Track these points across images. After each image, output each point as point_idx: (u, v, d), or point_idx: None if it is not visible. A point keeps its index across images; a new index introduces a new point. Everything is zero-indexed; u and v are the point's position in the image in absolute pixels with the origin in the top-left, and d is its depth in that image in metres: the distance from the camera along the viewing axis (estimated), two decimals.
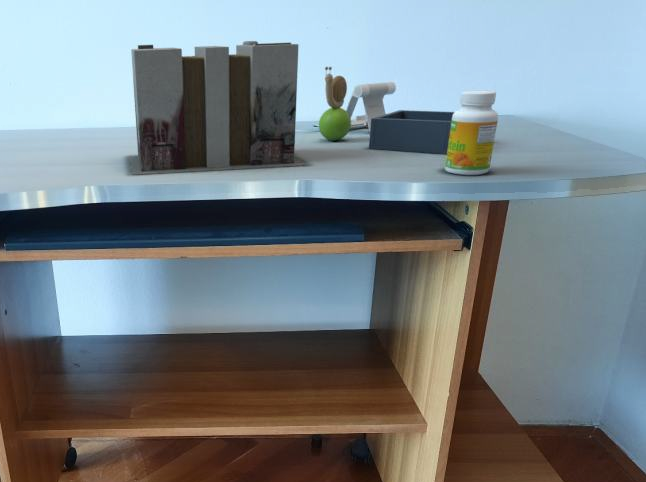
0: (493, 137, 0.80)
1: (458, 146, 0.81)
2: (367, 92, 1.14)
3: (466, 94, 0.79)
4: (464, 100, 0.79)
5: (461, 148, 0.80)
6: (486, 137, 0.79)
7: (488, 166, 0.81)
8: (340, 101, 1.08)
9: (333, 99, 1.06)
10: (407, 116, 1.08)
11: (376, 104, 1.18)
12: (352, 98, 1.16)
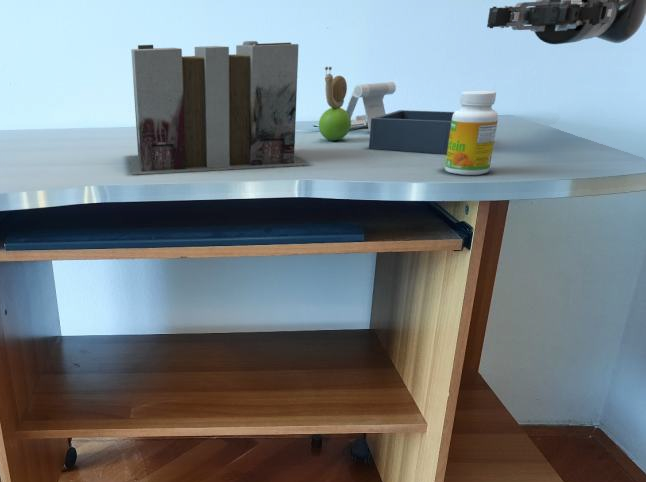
0: (493, 137, 0.80)
1: (458, 146, 0.81)
2: (367, 92, 1.14)
3: (466, 94, 0.79)
4: (464, 100, 0.79)
5: (461, 148, 0.80)
6: (486, 137, 0.79)
7: (488, 166, 0.81)
8: (340, 101, 1.08)
9: (333, 99, 1.06)
10: (407, 116, 1.08)
11: (376, 104, 1.18)
12: (352, 98, 1.16)
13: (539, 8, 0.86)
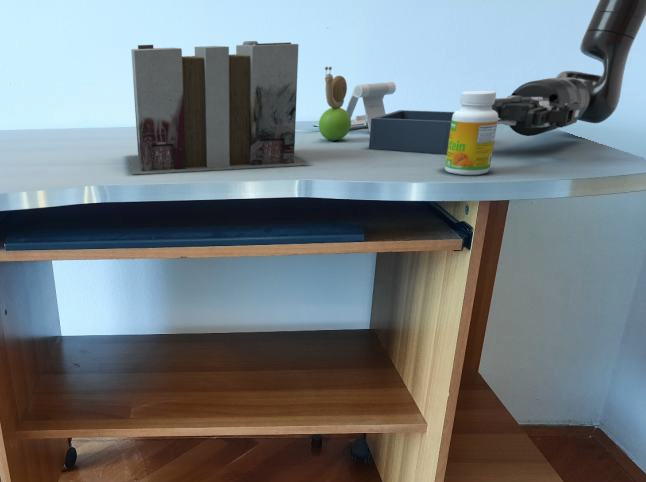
0: (493, 137, 0.80)
1: (458, 146, 0.81)
2: (367, 92, 1.14)
3: (466, 94, 0.79)
4: (464, 100, 0.79)
5: (461, 148, 0.80)
6: (486, 137, 0.79)
7: (488, 166, 0.81)
8: (340, 101, 1.08)
9: (333, 99, 1.06)
10: (407, 116, 1.08)
11: (376, 104, 1.18)
12: (352, 98, 1.16)
13: (509, 106, 0.89)
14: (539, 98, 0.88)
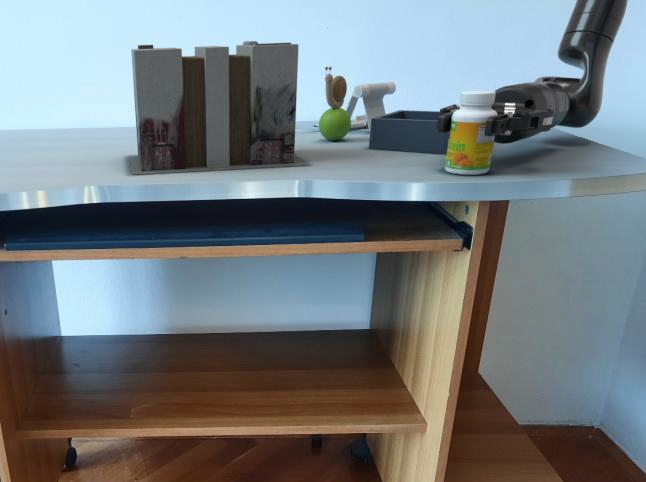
0: (493, 137, 0.80)
1: (458, 146, 0.81)
2: (367, 92, 1.14)
3: (465, 94, 0.79)
4: (463, 100, 0.79)
5: (461, 148, 0.80)
6: (486, 137, 0.79)
7: (488, 166, 0.81)
8: (340, 101, 1.08)
9: (333, 99, 1.06)
10: (407, 116, 1.08)
11: (376, 104, 1.18)
12: (352, 98, 1.16)
13: None
14: (511, 104, 0.83)
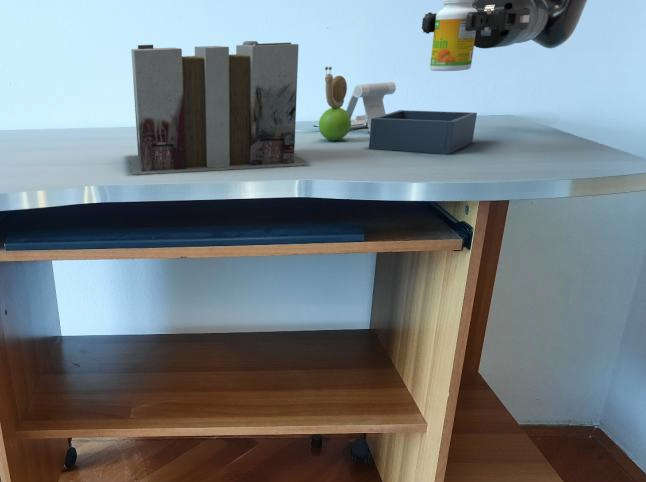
0: (473, 34, 0.86)
1: (442, 43, 0.87)
2: (367, 92, 1.14)
3: None
4: None
5: (444, 45, 0.87)
6: (467, 33, 0.85)
7: (470, 62, 0.88)
8: (340, 101, 1.08)
9: (333, 99, 1.06)
10: (407, 116, 1.08)
11: (376, 104, 1.18)
12: (352, 98, 1.16)
13: None
14: (491, 5, 0.89)
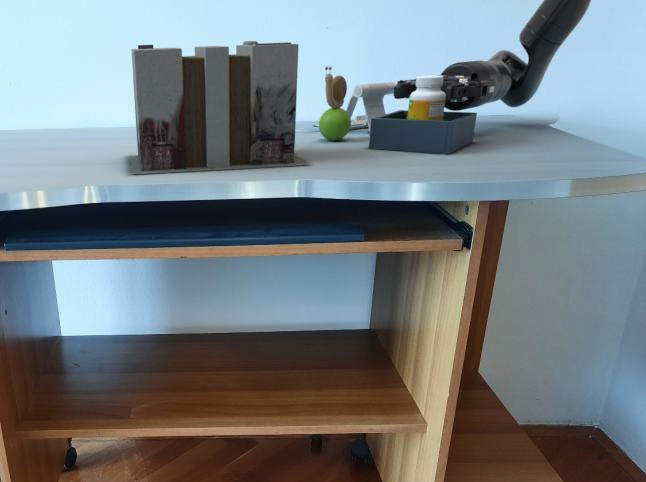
0: (442, 113, 1.00)
1: None
2: (367, 92, 1.14)
3: (419, 78, 0.98)
4: (418, 83, 0.99)
5: None
6: (436, 112, 0.99)
7: None
8: (340, 101, 1.08)
9: (333, 99, 1.06)
10: None
11: (376, 104, 1.18)
12: (352, 98, 1.16)
13: None
14: (461, 76, 1.01)
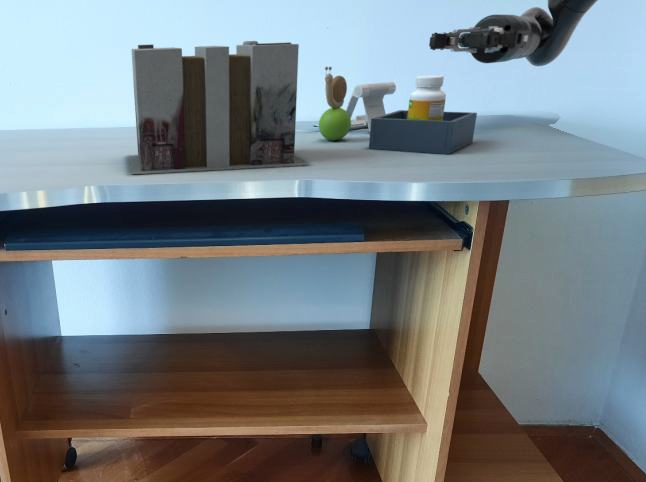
0: (442, 113, 1.00)
1: None
2: (367, 92, 1.14)
3: (419, 78, 0.98)
4: (418, 83, 0.99)
5: None
6: (436, 112, 0.99)
7: None
8: (340, 101, 1.08)
9: (333, 99, 1.06)
10: None
11: (376, 104, 1.18)
12: (352, 98, 1.16)
13: (470, 34, 1.06)
14: (495, 27, 1.04)
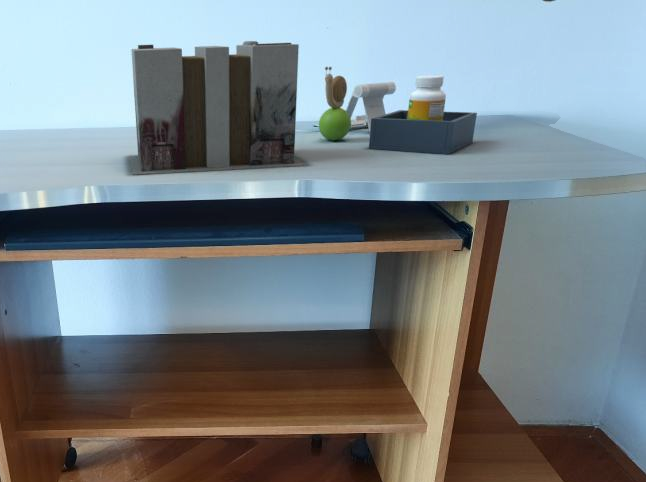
0: (442, 113, 1.00)
1: None
2: (367, 92, 1.14)
3: (419, 78, 0.98)
4: (418, 83, 0.99)
5: None
6: (436, 113, 0.99)
7: None
8: (340, 101, 1.08)
9: (333, 99, 1.06)
10: None
11: (376, 104, 1.18)
12: (352, 98, 1.16)
13: None
14: None
